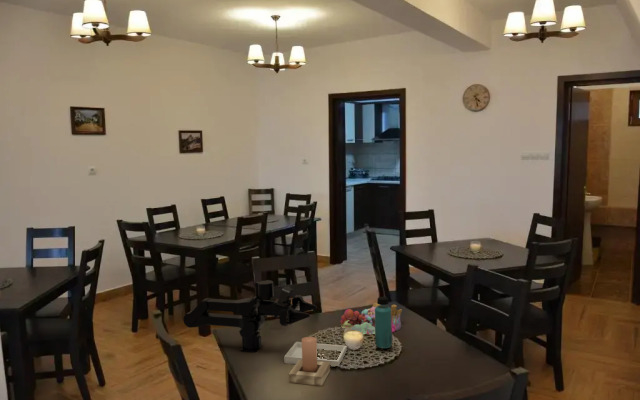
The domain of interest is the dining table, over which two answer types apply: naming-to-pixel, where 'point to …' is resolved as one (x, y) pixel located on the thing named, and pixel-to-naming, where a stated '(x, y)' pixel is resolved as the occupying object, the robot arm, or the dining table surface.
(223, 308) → the robot arm
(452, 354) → the dining table surface
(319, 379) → the holder
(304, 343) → the dowel
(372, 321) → the candy landscape model
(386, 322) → the beverage bottle
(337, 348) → the tray
